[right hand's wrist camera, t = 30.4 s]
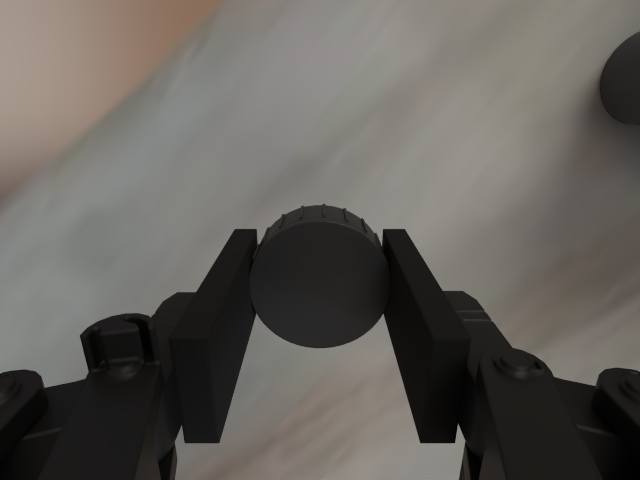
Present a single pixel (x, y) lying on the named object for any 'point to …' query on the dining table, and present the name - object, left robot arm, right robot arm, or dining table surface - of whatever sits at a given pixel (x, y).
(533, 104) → the dining table surface
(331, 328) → the cap
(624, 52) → the bottle
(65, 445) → the right robot arm
